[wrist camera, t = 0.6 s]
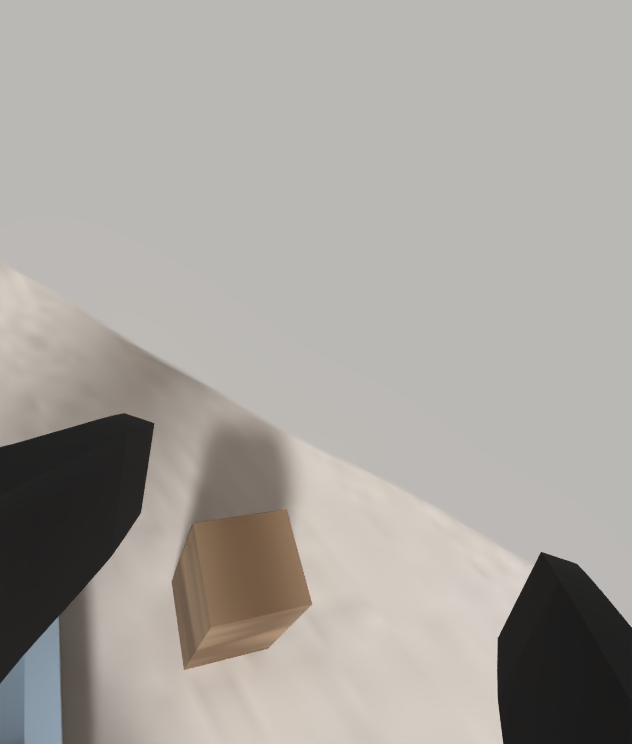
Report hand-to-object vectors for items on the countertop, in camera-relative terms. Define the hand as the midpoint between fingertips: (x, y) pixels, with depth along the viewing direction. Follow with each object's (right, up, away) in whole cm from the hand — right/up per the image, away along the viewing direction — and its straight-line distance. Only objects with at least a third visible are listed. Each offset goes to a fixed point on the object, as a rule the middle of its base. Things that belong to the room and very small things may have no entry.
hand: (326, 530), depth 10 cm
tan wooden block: (-5, -9, +17) cm, 20 cm away
